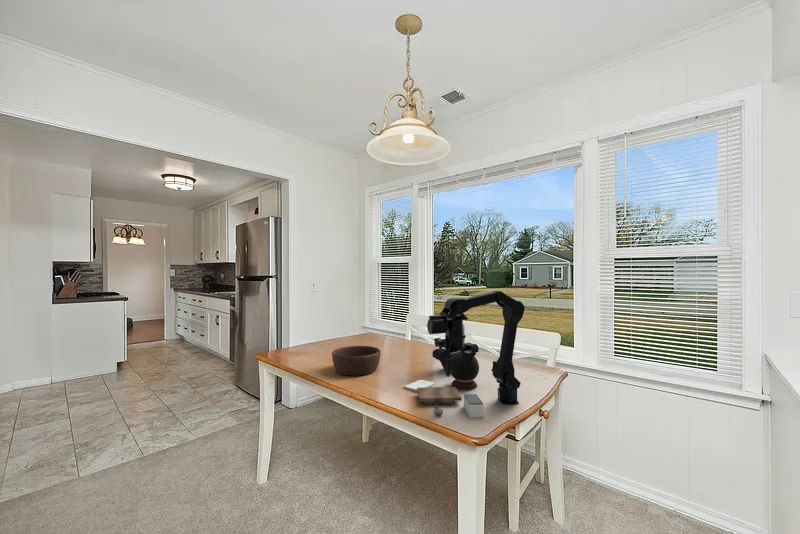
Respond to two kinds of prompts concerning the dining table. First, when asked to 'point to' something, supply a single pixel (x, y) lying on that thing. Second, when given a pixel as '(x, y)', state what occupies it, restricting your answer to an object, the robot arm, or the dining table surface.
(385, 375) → the dining table surface
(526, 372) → the dining table surface
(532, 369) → the dining table surface
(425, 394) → the stand
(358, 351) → the wooden bowl
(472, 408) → the block
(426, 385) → the external hard drive
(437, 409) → the bolt
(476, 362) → the black orb on base
